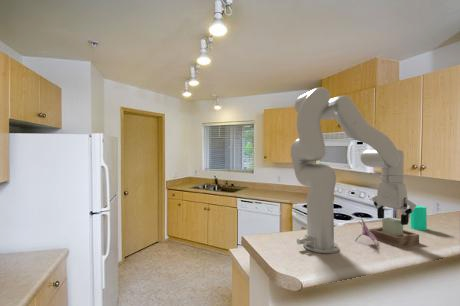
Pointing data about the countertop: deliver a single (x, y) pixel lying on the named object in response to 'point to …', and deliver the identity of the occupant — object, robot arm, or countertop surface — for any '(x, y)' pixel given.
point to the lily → (367, 232)
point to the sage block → (392, 226)
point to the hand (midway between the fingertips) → (392, 221)
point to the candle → (418, 218)
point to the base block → (398, 241)
